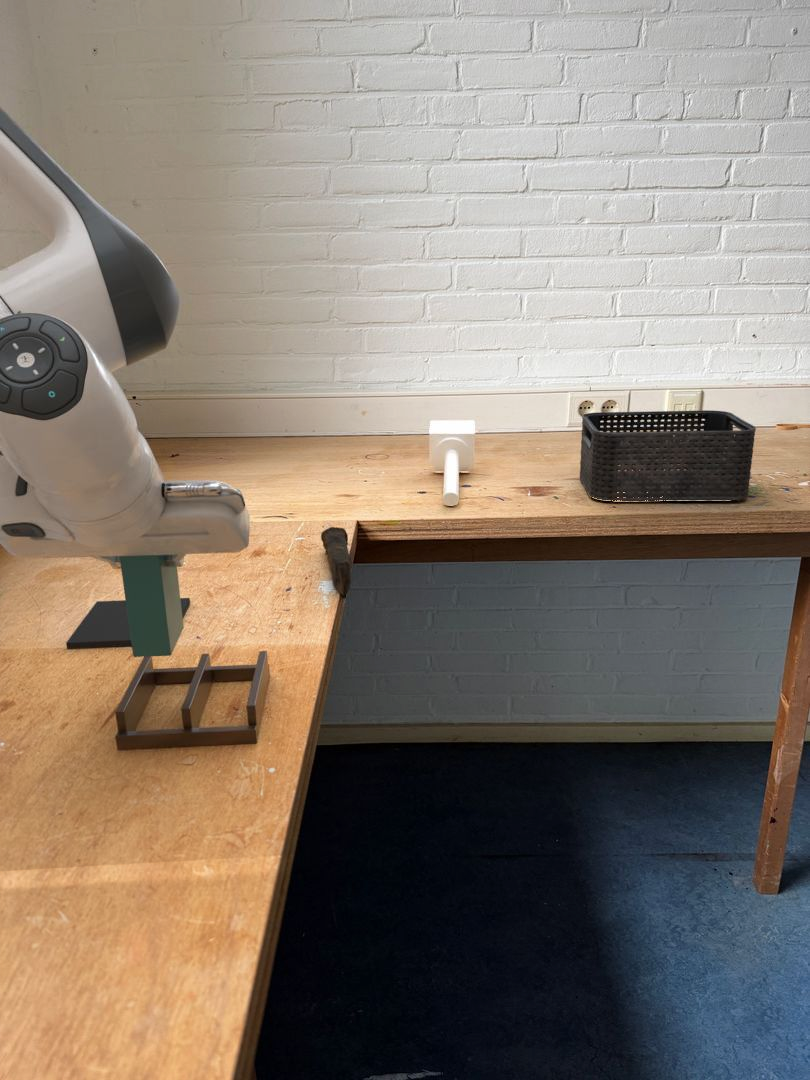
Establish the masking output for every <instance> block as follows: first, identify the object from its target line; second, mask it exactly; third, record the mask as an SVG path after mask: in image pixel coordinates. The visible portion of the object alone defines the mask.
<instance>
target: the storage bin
mask: <svg viewBox="0 0 810 1080" xmlns="http://www.w3.org/2000/svg"><path fill="white" fill-rule="evenodd" d="M581 419H582V421H581V425H582V426H581V441H580V445H581V446H580V462H579V464H580V467H579V468H580V469H579V478H580V479H579V481H580V482H581V481H582V482H581V484H582V483H583V484H582V486H583V485H584V486H585V488H586V489H585V488H584V489H585V491H586V490H587V491H588V493H589V495H590V496H591V497H594V498H597V499H602V500H611V501H612V500H613V501H615V500H616V501H617V500H620V501H621V500H622V501H645V500H646V501H647V500H648V501H655V500H656V501H657V500H658V501H659V500H663V501H664V500H665V501H666V500H737V501H742V500H741V499H743V500H746V499H747V498H748V497H749V490H750V489H749V488H750V480H751V473H752V472H751V470H752V464H753V455H754V446H755V436H756V431H757V427H756V426H755V425H753V424H751V423H749V422H747V421H746V420H744V419H742V418H741V417H739V416H738V415H736V414H734V413H732V412H729V411H726V410H725V411H724V410H712V409H711V410H705V409H704V410H701V409H700V410H658V411H656V410H655V411H653V410H652V411H650V410H649V411H603V412H601V411H599V412H588V413H584V414H582V416H581ZM734 427H735V428H737V429H738V430H734ZM584 486H583V487H584ZM587 491H586V492H587ZM617 492H619V493H617ZM623 492H625V493H623ZM647 492H648V493H647ZM588 493H587V494H588ZM589 495H588V496H589ZM662 496H663V497H662ZM617 497H619V498H617ZM623 497H626V498H623ZM633 497H634V498H633ZM638 497H639V498H638ZM647 497H648V498H647ZM652 497H653V498H652ZM660 497H662V498H660ZM745 498H746V499H745Z"/></svg>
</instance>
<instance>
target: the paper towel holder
mask: <svg viewBox="0 0 810 1080" xmlns="http://www.w3.org/2000/svg"><path fill="white" fill-rule="evenodd" d="M428 436H429V438H428V445H429V446H428V447H429V448H428V451H429V452H428V453H429V456H428V457H429V459H428V460H429V462H428V463H429V470H433V472H434V471H444V474H443V487H442V503H443V505H444V506H446V505H456V506H457V505H458V503H459V499H460V489H459V488H460V474H459V471H470V472H471V470H475V462H476V461H475V459H476V458H475V455H476V451H475V450H476V425H475V420H430V423H429V431H428Z"/></svg>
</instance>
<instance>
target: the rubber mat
mask: <svg viewBox="0 0 810 1080" xmlns="http://www.w3.org/2000/svg"><path fill="white" fill-rule="evenodd" d="M180 599H181V608H182V617H183V618H184V617H185V615H186V613H187V611H188V609H189V606H190V604H191V598H190V597H180ZM65 645H66V648H67V649H68V650H69V649H91V648H92V649H93V648H117V647H132V644H131V637H130V629H129V622H128V615H127V607H126V600H124V599H123V600H98V601H97V600H96V602H95V603H94V605H93V606H92V607H91V608H90V610H89V611H88V613H87V614H86V615H85V617H84V618H83V619H82V621H81V622H80V623H79V625H78V626H77V627H76V629H75V630H74V631H73V633H72V634H71V635H70V637H69V638H68V640H67V641H66V644H65Z"/></svg>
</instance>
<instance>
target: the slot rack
mask: <svg viewBox="0 0 810 1080" xmlns="http://www.w3.org/2000/svg"><path fill="white" fill-rule="evenodd" d="M211 663H212V662H211V653H202V654H201V655H200V659H199V661H198V664H197V666H191V667H190V666H189V667H166V668H154V663H153V656H148V657H142V660H141V662H140V664H139V666H138V667H137V669H136V671H135V673H134V675H133V677H132V679H131V681H130V682H129V684H128V686H127V689H126V690H125V693H123V694H124V695H123V696H122V698H121V701H120V702H119V703H118V705H117V707H116V710H115V712H114V713H115V715H114V716H115V720H116V727H117V732H116V734H115V743H116V750H117V751H125V750H127V751H128V750H144V749H147V750H148V749H165V748H188V747H205V746H206V747H207V746H228V745H247V744H248V745H249V744H250V745H251V744H257V743H258V740H259V733H260V729H261V723H262V720H263V714H264V709H265V703H266V698H267V693H268V689H269V682H270V678H271V670H270V664H269V660H268V651H267V650H260V651H259V652H258V657H257V660H256V664H238V665H237V664H236V665H212V664H211ZM234 681H235V682H237V681H238V682H239V681H252V682H251V685H250V690H249V695H248V699H247V703H246V715H247V724H248V725H230V726H209V727H208V726H207V727H199V725H200V722H201V719H202V716H203V713H204V709H205V708H206V707H205V706H206V703H207V701H208V697H209V695H210V691H211V689H212V685H213V683H214V682H234ZM169 684H170V685H171V684H190V685H189V687H188V690H187V693H186V696H185V698H184V700H183V703H182V706H181V709H180V711H181V720H182V728H166V729H165V728H163V729H145V730H136V729H137V726H138V724H139V721H140V719H141V717H142V715H143V713H144V711H145V709H146V706H147V704H148V702H149V700H150V698H151V697H152V693H153V692H154V689H155V687H156V685H169Z"/></svg>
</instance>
